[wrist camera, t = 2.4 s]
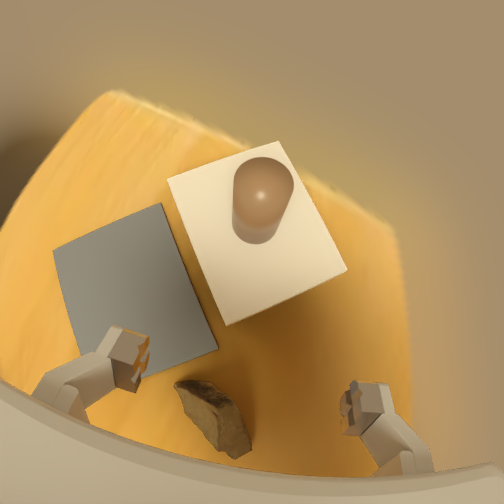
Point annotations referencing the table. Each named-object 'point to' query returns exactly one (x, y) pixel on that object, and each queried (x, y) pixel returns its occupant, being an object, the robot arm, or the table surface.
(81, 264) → the slate mat
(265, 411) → the table surface
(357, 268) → the table surface
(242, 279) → the lid
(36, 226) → the table surface
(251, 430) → the table surface
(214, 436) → the rock
